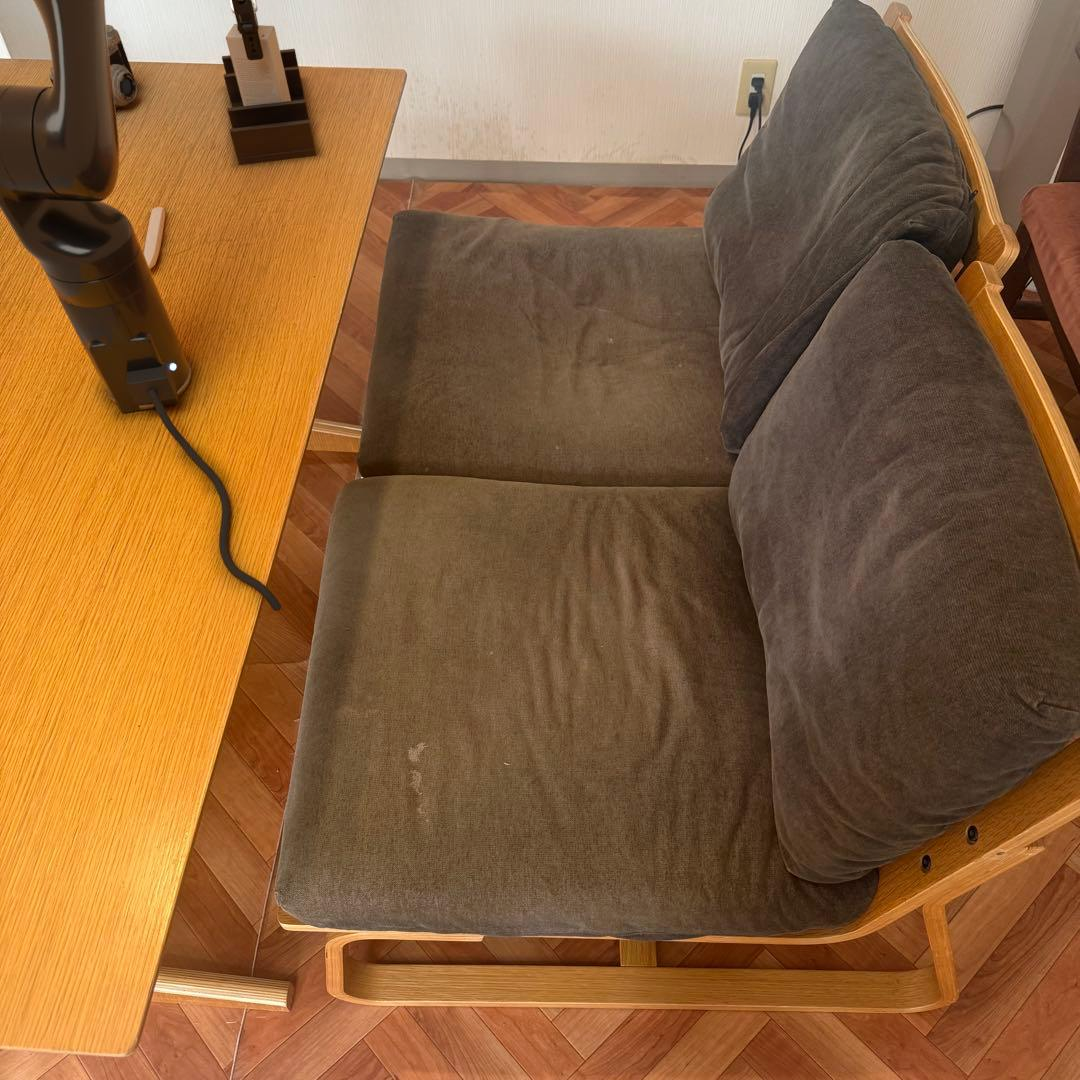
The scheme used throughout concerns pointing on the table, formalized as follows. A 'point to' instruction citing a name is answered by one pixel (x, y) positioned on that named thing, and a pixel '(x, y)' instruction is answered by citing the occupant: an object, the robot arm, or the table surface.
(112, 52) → the camera
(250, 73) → the cosmetic box
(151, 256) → the pen
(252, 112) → the rack
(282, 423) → the table surface
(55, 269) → the robot arm
